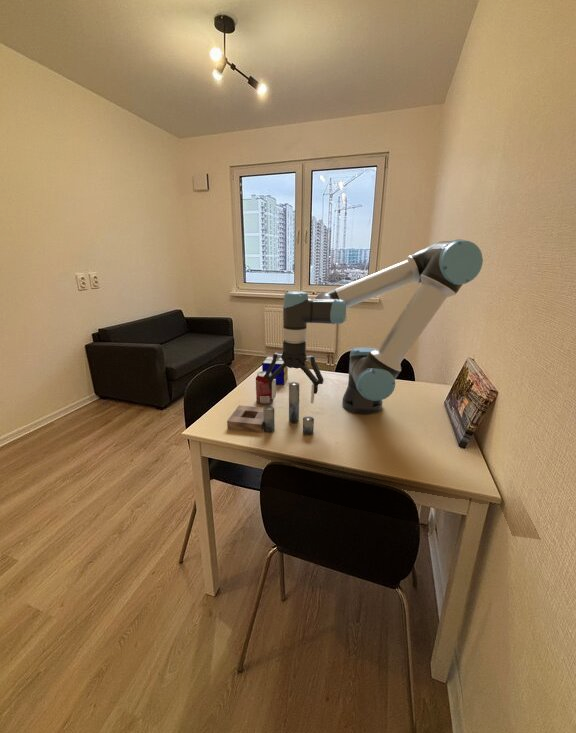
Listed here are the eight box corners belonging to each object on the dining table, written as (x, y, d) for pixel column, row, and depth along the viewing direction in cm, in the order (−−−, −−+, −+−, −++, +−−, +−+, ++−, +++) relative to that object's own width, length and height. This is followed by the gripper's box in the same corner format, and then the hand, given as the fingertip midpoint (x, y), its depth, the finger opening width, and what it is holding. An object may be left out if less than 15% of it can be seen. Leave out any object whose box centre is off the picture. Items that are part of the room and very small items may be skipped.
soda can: (271, 406, 125) (270, 377, 121) (254, 404, 126) (253, 376, 123) (275, 398, 131) (274, 371, 127) (259, 397, 133) (258, 370, 129)
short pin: (314, 430, 108) (314, 417, 107) (312, 435, 105) (313, 422, 103) (303, 429, 109) (303, 416, 107) (301, 434, 106) (302, 421, 104)
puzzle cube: (262, 383, 147) (261, 363, 143) (267, 376, 156) (267, 356, 153) (284, 385, 145) (284, 364, 142) (287, 377, 154) (287, 357, 151)
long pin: (299, 418, 116) (300, 382, 111) (298, 423, 112) (298, 386, 108) (289, 417, 116) (289, 381, 112) (287, 422, 113) (288, 385, 108)
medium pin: (275, 427, 110) (275, 406, 107) (273, 433, 106) (272, 411, 104) (265, 426, 110) (264, 405, 108) (262, 432, 107) (262, 410, 104)
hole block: (270, 415, 118) (270, 408, 117) (261, 432, 107) (261, 424, 106) (239, 412, 120) (238, 405, 119) (227, 428, 109) (227, 421, 108)
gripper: (333, 340, 106) (329, 398, 113) (260, 335, 110) (260, 391, 117) (332, 346, 99) (328, 408, 106) (254, 340, 103) (255, 400, 110)
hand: (292, 399), depth 112 cm, fingers open, 13 cm apart
